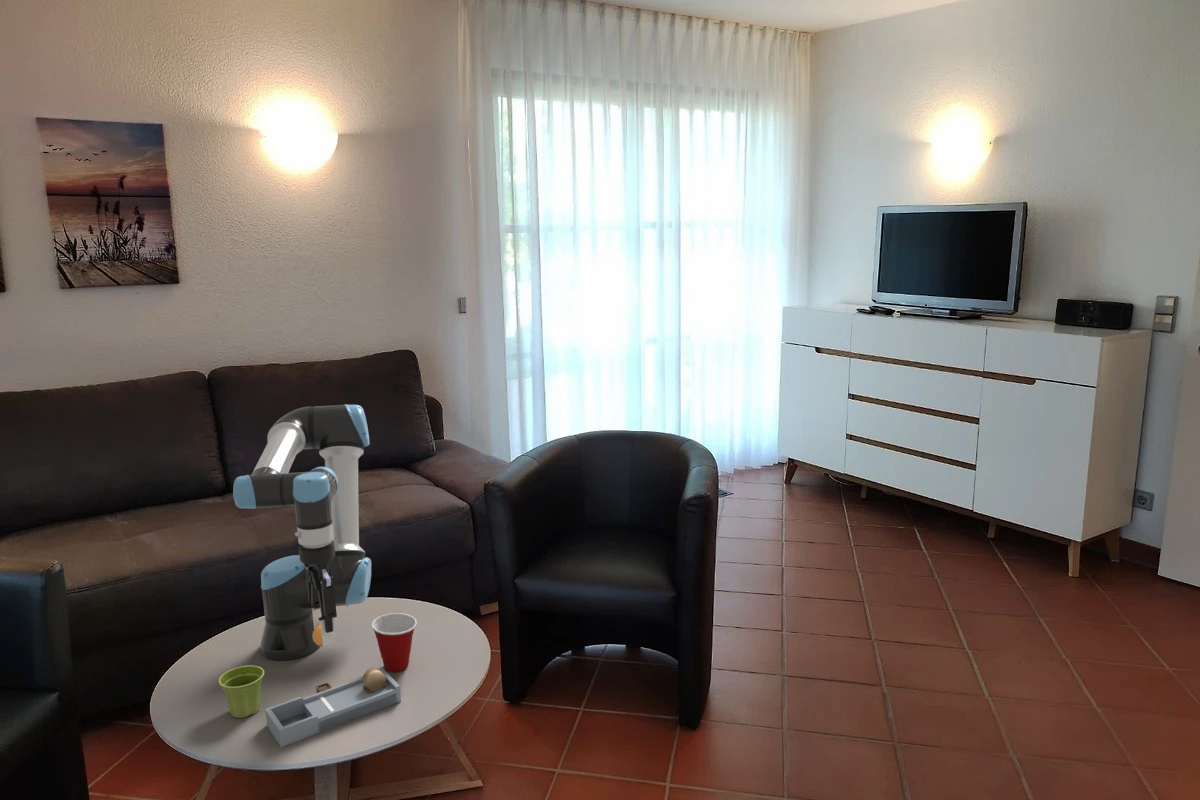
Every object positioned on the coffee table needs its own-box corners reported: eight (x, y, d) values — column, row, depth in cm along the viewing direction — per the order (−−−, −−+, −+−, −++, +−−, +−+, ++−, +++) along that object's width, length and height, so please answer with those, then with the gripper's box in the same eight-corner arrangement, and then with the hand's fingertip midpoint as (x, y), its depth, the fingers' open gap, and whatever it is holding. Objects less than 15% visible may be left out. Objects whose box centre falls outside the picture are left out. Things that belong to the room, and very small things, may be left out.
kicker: (363, 688, 192) (361, 671, 191) (381, 682, 194) (379, 665, 193) (368, 694, 189) (366, 676, 189) (386, 687, 192) (385, 670, 191)
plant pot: (234, 698, 193) (230, 664, 191) (274, 699, 193) (271, 665, 191) (215, 722, 184) (210, 687, 182) (257, 723, 184) (253, 687, 182)
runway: (266, 725, 183) (264, 709, 182) (383, 682, 199) (381, 667, 198) (281, 747, 175) (279, 730, 174) (401, 701, 191) (399, 685, 190)
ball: (309, 641, 190) (309, 622, 189) (331, 636, 193) (331, 617, 192) (316, 652, 186) (316, 633, 185) (338, 647, 189) (338, 628, 188)
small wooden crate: (316, 696, 194) (315, 686, 193) (328, 692, 195) (327, 682, 195) (321, 701, 191) (320, 691, 191) (333, 697, 193) (332, 687, 192)
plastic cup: (417, 676, 202) (414, 630, 199) (372, 679, 200) (368, 633, 198) (421, 653, 212) (418, 610, 210) (378, 656, 211) (375, 612, 208)
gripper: (287, 534, 190) (296, 629, 194) (312, 558, 176) (321, 660, 180) (320, 527, 194) (328, 620, 199) (346, 550, 180) (355, 649, 184)
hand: (325, 639), depth 189 cm, fingers closed on ball, 5 cm apart
